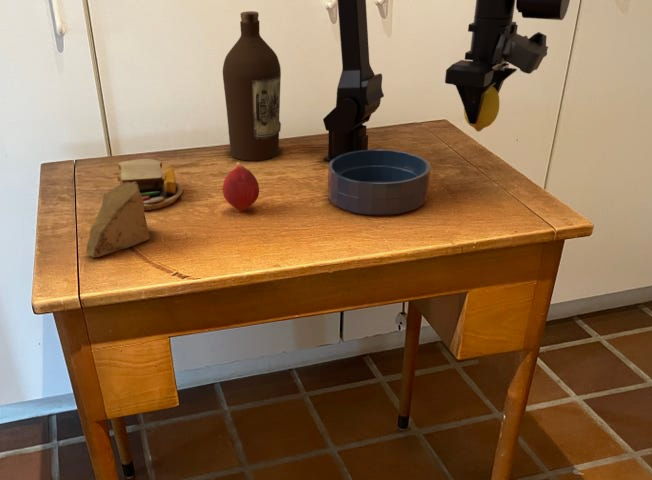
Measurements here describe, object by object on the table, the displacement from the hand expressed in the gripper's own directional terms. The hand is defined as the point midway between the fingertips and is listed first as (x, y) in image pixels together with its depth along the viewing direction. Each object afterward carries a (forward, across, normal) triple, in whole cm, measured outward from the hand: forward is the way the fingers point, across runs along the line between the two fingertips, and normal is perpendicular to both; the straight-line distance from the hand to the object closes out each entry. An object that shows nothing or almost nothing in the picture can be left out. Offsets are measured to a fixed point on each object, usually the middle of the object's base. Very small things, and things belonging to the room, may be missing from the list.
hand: (479, 119), depth 121 cm
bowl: (+10, -16, +10) cm, 21 cm away
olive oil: (+11, -8, +41) cm, 43 cm away
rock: (+11, -52, +34) cm, 63 cm away
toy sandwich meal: (+11, -36, +44) cm, 58 cm away
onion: (+11, -32, +26) cm, 42 cm away
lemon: (+2, 0, 0) cm, 2 cm away
